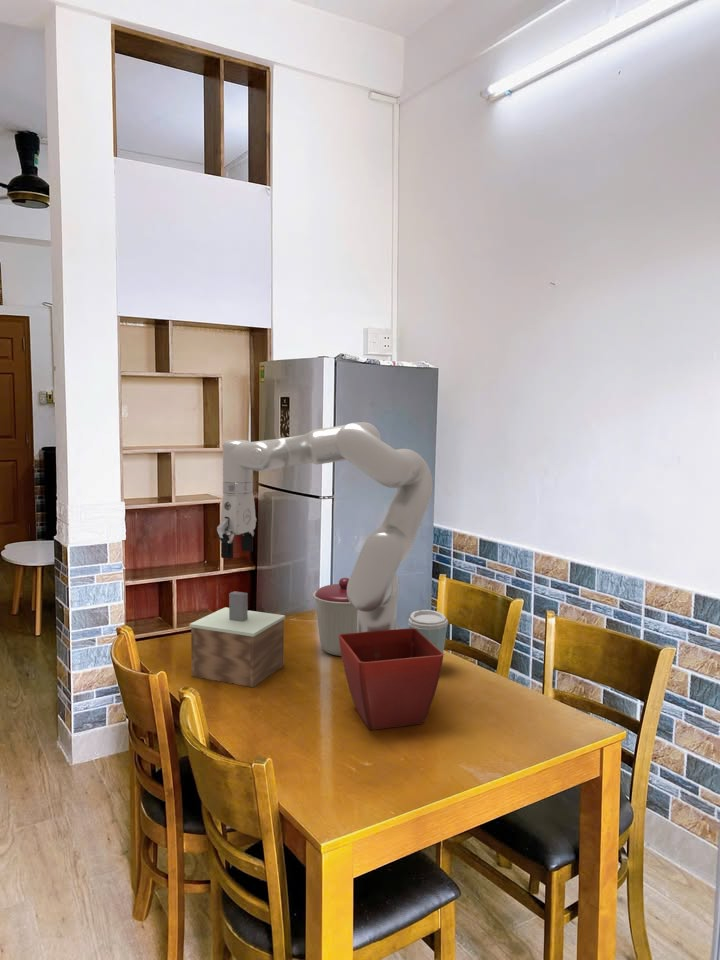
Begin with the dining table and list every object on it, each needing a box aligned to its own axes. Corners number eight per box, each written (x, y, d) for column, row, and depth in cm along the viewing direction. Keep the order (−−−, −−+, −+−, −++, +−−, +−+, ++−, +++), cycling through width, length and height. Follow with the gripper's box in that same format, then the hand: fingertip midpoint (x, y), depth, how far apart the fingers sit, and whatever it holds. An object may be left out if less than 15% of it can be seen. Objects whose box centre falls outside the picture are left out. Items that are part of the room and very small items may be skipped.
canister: (379, 642, 214) (380, 572, 211) (371, 663, 196) (372, 587, 194) (319, 638, 216) (320, 569, 214) (306, 659, 198) (306, 584, 196)
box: (283, 665, 193) (283, 618, 192) (253, 687, 178) (253, 636, 177) (225, 656, 200) (225, 610, 198) (191, 676, 185) (191, 626, 184)
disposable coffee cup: (455, 673, 189) (456, 617, 188) (419, 679, 185) (420, 622, 183) (433, 660, 199) (435, 607, 197) (399, 666, 194) (400, 611, 193)
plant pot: (358, 739, 152) (359, 661, 150) (336, 703, 170) (337, 633, 168) (443, 729, 157) (445, 654, 155) (413, 695, 175) (415, 627, 173)
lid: (285, 618, 192) (285, 589, 191) (253, 636, 177) (253, 605, 176) (225, 610, 199) (224, 582, 198) (189, 627, 183) (189, 596, 183)
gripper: (232, 493, 175) (232, 562, 176) (267, 486, 191) (266, 549, 192) (205, 491, 177) (205, 559, 179) (242, 484, 193) (242, 547, 195)
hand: (237, 554), depth 186 cm, fingers open, 9 cm apart
